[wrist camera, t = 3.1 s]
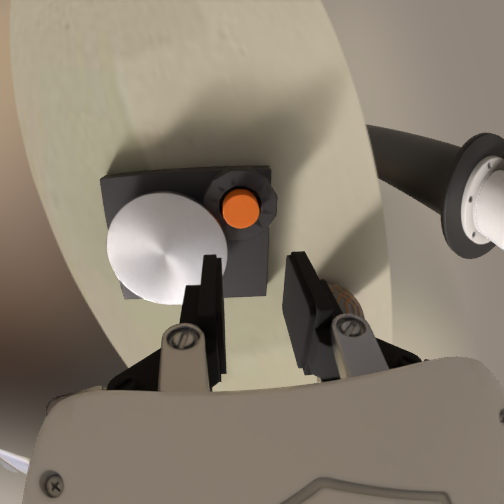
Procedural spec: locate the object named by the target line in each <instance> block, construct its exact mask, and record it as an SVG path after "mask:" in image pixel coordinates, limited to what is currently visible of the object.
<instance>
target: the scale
mask: <svg viewBox="0 0 504 504" xmlns="http://www.w3.org/2000/svg"><path fill="white" fill-rule="evenodd" d="M100 185H101V192H102V198H103V205H104V211H105V217H106V222H107V227H108V230H109V227H110V224H111V222H112V220H113V218H114V217H115V215H116V214H117V213H118V211H119V210H120V209H121V208H122V207H123V206H124V205H125V204H126V203H127V202H129V201H130V200H132V199H133V198H135V197H137V196H140V195H142V194H145V193H148V192H154V191H172V192H178V193H181V194H185V195H187V196H190V197H192V198H194V199H196V200H197V201H199V202H201V203H202V204H203V205H205V206H206V207H207V208H208V209H209V210H210V211H211V212H212V213H213V214H214V215H215V216H216V218H217V219H218V220H219V222H220V224H221V226H222V228H223V230H224V232H225V235H226V239H227V245H228V261H227V266H226V269H225V272H224V274H223V276H222V277H223V297H224V298H229V297H253V296H266V290H267V269H268V247H269V226H270V224H271V222H272V221H273V219H274V218H275V216H276V212H277V195H276V193H275V191H274V190H273V188H272V186H271V168H270V167H269V166H224V167H196V168H178V169H163V170H151V171H139V172H129V173H120V174H111V175H105V176H104V177H102V178H101V179H100ZM235 189H245V190H248V191H250V192H251V193H253V195H254V196H255V197H256V200H257V202H258V205H259V210H260V212H259V216H258V219H257V220H256V222H255V223H254V224H252V225H251V226H249V227H247V228H235V227H232V226H231V225H229V224H228V223H227V222H226V220H225V219H224V216H223V201H224V199H225V197H226V195H227V194H228V193H229V192H231V191H233V190H235ZM119 281H120V280H119ZM120 285H121V289H122V292H123V296H124V299H144V298H142V297H140V296H138V295H136V294H135V293H133V292H132V291H131V290H129V289H128V288H127V287H126V286H125V285H124V284H123V283H122V282H121V281H120Z"/></svg>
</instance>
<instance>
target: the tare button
mask: <svg viewBox="0 0 504 504" xmlns="http://www.w3.org/2000/svg"><path fill="white" fill-rule="evenodd" d="M259 212H260V210H259V205H258V202H257V200H256V197H255V196H254V195H253V193H251V192H250V191H248V190H245V189H235V190H233V191H231V192H229V193H228V194H227V195H226V197H225V199H224V201H223V216H224V219H225V220H226V222H227V223H228V224H229V225H231V226H232V227H235V228H247V227H249V226H251V225H252V224H254V223H255V222H256V220H257V219H258V216H259Z"/></svg>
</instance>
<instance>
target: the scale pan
mask: <svg viewBox="0 0 504 504" xmlns="http://www.w3.org/2000/svg"><path fill="white" fill-rule="evenodd" d="M106 244H107V254H108V258H109V262H110V264H111V267H112V269H113V271H114V272H115V274H116V276H117V277H118V278H119V280H120V281H121V282H122V283H123V284H124V285H125V286H126V287H127V288H128V289H129V290H131V291H132V292H133V293H135V294H136V295H138V296H140V297H142V298H144V299H146V300H149V301H152V302H155V303H160V304H168V305H176V304H183V298H184V292H185V287H186V285H200V283H201V274H202V264H203V256H204V255H211V254H216V255H217V258H222V276H223V274H224V272H225V269H226V266H227V261H228V245H227V239H226V235H225V232H224V230H223V228H222V226H221V224H220V222H219V220H218V219H217V218H216V216H215V215H214V214H213V213H212V212H211V211H210V210H209V209H208V208H207V207H206V206H205V205H203V204H202V203H201V202H199V201H197V200H196V199H194V198H192V197H190V196H187V195H185V194H181V193H178V192H172V191H154V192H148V193H145V194H142V195H140V196H137V197H135V198H133V199H132V200H130V201H129V202H127V203H126V204H125V205H124V206H123V207H122V208H121V209H120V210H119V211H118V213H117V214H116V215H115V217H114V218H113V220H112V222H111V224H110V227H109V230H108V234H107V241H106Z"/></svg>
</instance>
